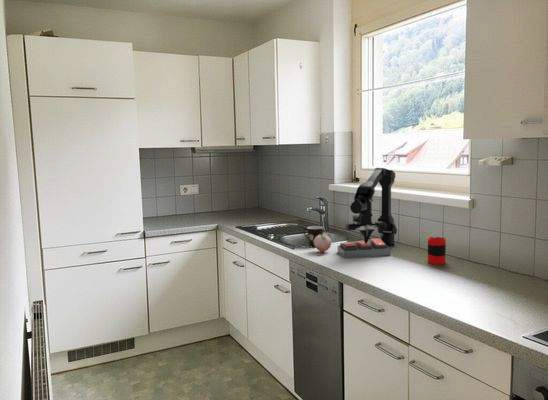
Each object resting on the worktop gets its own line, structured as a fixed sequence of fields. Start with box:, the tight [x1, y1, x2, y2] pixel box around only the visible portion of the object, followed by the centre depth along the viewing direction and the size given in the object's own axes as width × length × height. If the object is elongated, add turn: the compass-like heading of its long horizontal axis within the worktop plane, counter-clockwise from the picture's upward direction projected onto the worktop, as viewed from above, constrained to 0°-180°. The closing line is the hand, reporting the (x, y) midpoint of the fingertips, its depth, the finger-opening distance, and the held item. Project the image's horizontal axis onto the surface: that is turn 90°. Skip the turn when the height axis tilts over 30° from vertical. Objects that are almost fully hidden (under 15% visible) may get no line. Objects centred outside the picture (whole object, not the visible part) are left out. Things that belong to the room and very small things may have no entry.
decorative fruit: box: [314, 232, 332, 253], centre depth 236 cm, size 9×8×10 cm
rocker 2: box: [370, 237, 385, 246], centre depth 231 cm, size 4×8×1 cm, turn 8°
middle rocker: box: [356, 240, 370, 246], centre depth 230 cm, size 4×8×1 cm, turn 7°
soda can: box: [427, 234, 447, 266], centre depth 211 cm, size 8×8×12 cm
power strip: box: [337, 240, 391, 259], centre depth 230 cm, size 23×12×5 cm, turn 98°
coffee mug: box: [303, 225, 324, 248], centre depth 251 cm, size 12×9×10 cm
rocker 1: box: [341, 242, 355, 246], centre depth 229 cm, size 4×8×1 cm, turn 7°
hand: (365, 243), depth 226 cm, fingers closed, pressing on middle rocker
